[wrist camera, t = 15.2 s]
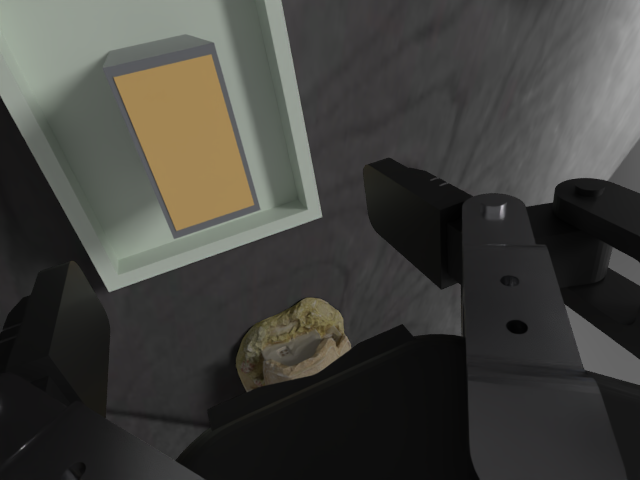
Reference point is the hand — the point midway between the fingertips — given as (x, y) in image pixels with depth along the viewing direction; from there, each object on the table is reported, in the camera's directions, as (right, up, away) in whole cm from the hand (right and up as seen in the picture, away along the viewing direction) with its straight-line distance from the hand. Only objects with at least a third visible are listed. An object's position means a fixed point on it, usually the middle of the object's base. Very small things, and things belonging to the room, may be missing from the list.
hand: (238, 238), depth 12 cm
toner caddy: (-7, +8, +16) cm, 19 cm away
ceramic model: (-1, -12, +31) cm, 33 cm away
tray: (-8, +9, +16) cm, 20 cm away
